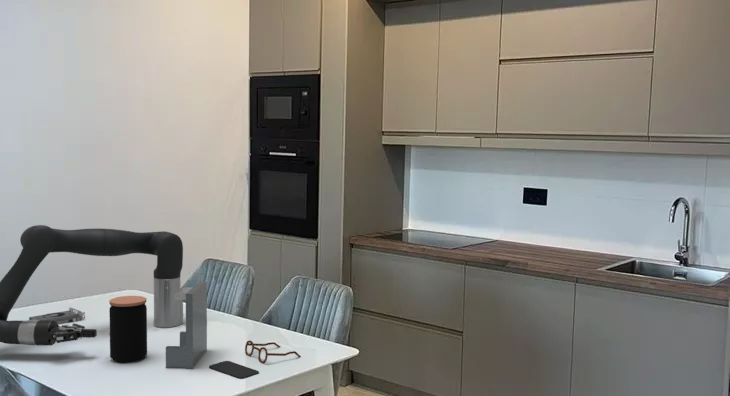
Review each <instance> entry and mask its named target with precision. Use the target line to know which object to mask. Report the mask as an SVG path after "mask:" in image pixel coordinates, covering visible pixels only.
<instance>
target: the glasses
mask: <svg viewBox="0 0 730 396" xmlns="http://www.w3.org/2000/svg"><path fill="white" fill-rule="evenodd" d="M270 345H275V347H277V348H281V345H279V344H278V343H276V342H275V341H274V342H273V341H272V342H267V343H254V342H253V341H252V340H247V341H246V342H245V346H244V351H245V352H244V353H245V355H246V356H247V357H252V355H253V353H254V350H256V351H258V355H257V356H258V362H259V363H260V364H265V363H266V362H267V360H268V357H269V356H272V357H273V356H274V357H275V356H277V357H279V356H280V357H285V356H288V355H294V354H295V355H296V357H298V358H302V356H301V355H300V354H299V353H298V352H296V351H289V352H285V353H278V352H277V353H274V352H273V353H271V352H270V353H268V349H267V348H266V346H270ZM248 346H250V347H251V352H250V353H248ZM259 346H260V348H259ZM262 351H264V353H265V355H264V356H265V357H264V360H262V359H261V354H262Z"/></svg>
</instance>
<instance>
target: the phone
mask: <svg viewBox="0 0 730 396" xmlns="http://www.w3.org/2000/svg"><path fill="white" fill-rule="evenodd" d="M208 369H210V370H212V371H214V372H218V373H221V374H223V375H226V376H230V377H232V378H235V379H237V380H244V379H247V378H250V377H253V376H257V375H258V374H260V371H259V370H256V369H254V368H250V367H247V366H246V365H242V364H239V363H236V362H233V361H231V360H223V361H220V362H216V363H212V364H211V365H209V366H208Z"/></svg>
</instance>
